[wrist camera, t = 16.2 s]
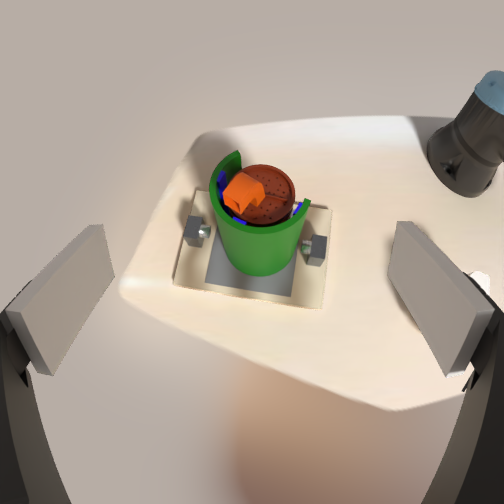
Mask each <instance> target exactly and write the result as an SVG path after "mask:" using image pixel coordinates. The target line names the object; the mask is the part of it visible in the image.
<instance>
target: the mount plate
mask: <svg viewBox="0 0 504 504" xmlns="http://www.w3.org/2000/svg"><path fill="white" fill-rule="evenodd" d="M297 206H298V205H297V204H294V205H293V210H292V214H291V217H292V216H293V212H294V211H295V209H296V208H297ZM190 215H191V216H198V217H203V220H204V222H205V225H211V234H210V237H209V238H204V242H203V246H202V248H198V247H192V246H188V244H187V242H186V241H185V239H184V240H183V244H182V248H181V252H180V256H179V261H178V265H177V269H176V273H175V277H174V282H173V284H174V285H175V286H179V287H184V288H189V289H195V290H200V291H205V292H211V293H216V294H222V295H228V296H233V297H239V298H245V299H251V300H257V301H263V302H269V303H275V304H281V305H288V306H294V307H301V308H308V309H314V310H321V309H322V304H323V296H324V288H325V280H326V271H327V262H328V252H329V242H330V232H331V220H332V210H327V209H321V208H315V207H309V209H308V212H307V215H306V218H305V221H304V224H303V227H302V230H301V233H300V236H299V239H298V242H297V245H296V248H295V251H294V254H293V257H292V259H291V260H290V262H289V263H288V264H287V266H286V267H284V268H283V269H282V270H281V271H279V272H277V273H275V274H273V275H270V276H264V277H256V276H250V275H247V274H245V273H242V272H241V271H239V270H238V269H236V268H235V267H234V266H233V265H232V264H231V262H230V261H229V259H228V257H227V255H226V252H225V249H224V245H223V242H222V238H221V235H220V231H219V228H218V224H217V221H216V217H215V214H214V210H213V207H212V203H211V199H210V194H209V192H206V191H198V190H197V191H196V195H195V199H194V202H193V206H192V210H191V213H190ZM313 234H315V235H321V236H327V247H326V256H325V260H324V262H323V263H322V265H321V266H320V267H317V266H310V265H306V262H307V254H304V253H301V244H302V240H308V241H310V240H311V237H312V235H313Z"/></svg>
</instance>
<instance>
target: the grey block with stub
mask: <svg viewBox="0 0 504 504" xmlns="http://www.w3.org/2000/svg"><path fill="white" fill-rule="evenodd" d="M326 247H327V236H321V235H315V234H313V235H312V237H311V240H310V241H308V240H302V244H301V253H304V254H307V262H306V265H310V266H317V267H320V266H321V265H322V263H323V262H324V260H325V256H326Z"/></svg>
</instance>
